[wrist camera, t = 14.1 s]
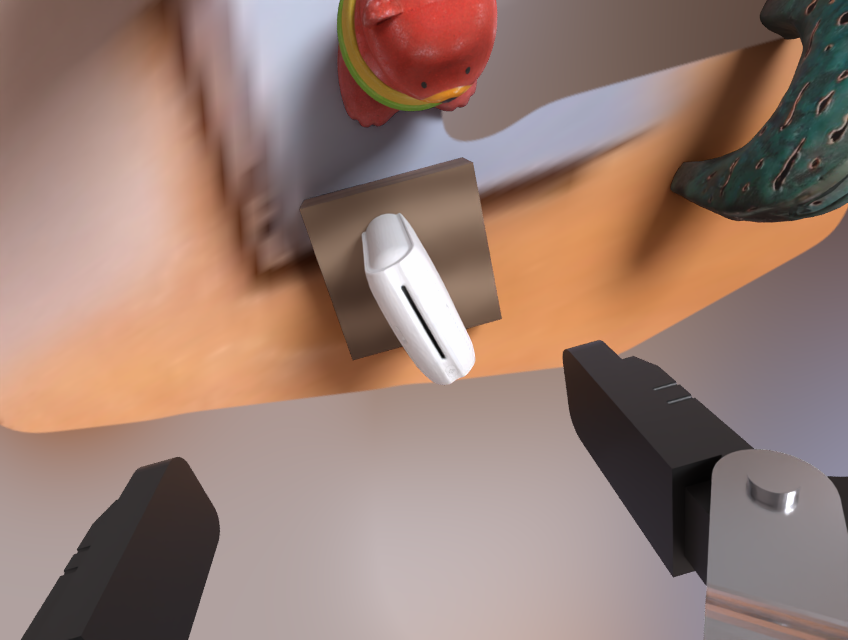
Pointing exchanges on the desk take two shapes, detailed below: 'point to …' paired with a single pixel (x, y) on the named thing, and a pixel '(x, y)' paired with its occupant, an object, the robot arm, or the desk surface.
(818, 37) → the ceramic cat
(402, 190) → the walnut block
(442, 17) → the stacking bear
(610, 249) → the desk surface
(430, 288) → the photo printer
